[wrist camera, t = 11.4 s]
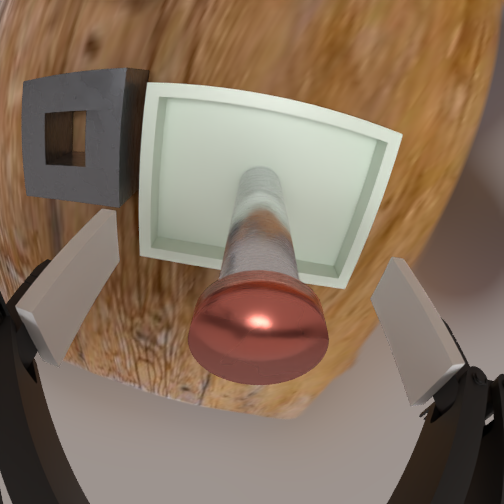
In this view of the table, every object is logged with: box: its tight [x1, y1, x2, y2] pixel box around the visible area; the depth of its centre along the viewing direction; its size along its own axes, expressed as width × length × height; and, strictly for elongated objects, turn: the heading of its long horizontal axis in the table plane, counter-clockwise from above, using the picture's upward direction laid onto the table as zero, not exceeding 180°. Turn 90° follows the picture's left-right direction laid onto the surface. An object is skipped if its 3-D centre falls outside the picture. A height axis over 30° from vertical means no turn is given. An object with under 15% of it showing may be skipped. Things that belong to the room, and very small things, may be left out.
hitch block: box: [22, 68, 149, 208], centre depth 17 cm, size 10×10×4 cm
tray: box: [139, 82, 403, 289], centre depth 21 cm, size 18×14×2 cm
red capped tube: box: [188, 166, 329, 385], centre depth 15 cm, size 4×4×15 cm
